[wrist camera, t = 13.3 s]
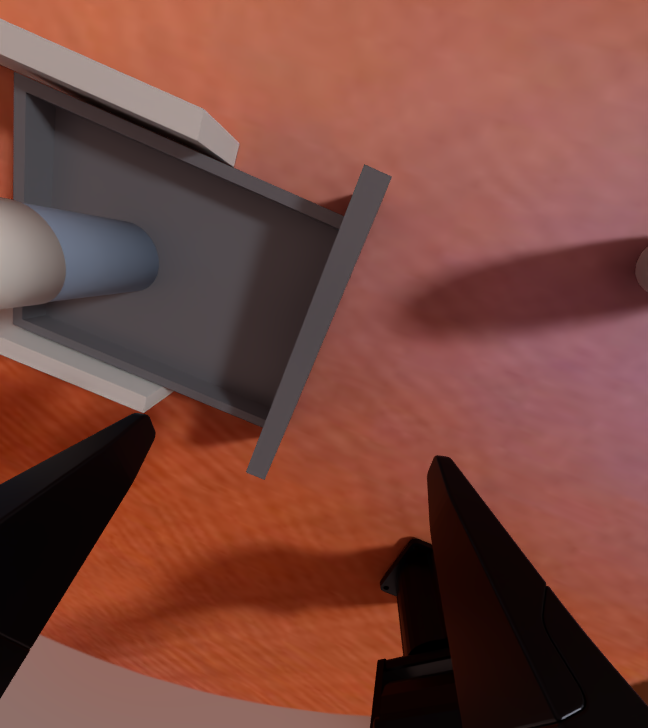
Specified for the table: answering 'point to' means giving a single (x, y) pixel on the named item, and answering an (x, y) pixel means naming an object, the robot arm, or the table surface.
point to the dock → (136, 106)
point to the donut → (642, 270)
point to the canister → (69, 255)
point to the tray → (192, 261)
